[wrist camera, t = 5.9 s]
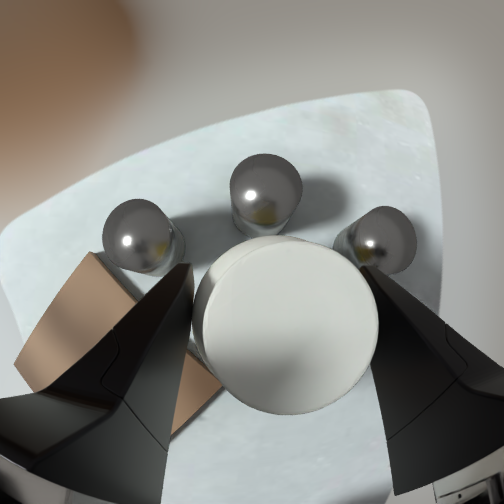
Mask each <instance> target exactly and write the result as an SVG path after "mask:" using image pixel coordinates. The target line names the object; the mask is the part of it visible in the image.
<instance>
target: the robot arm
mask: <svg viewBox="0 0 504 504" xmlns="http://www.w3.org/2000/svg"><path fill="white" fill-rule="evenodd" d="M359 271H360V273H361V274H362V275H363V277H364V278H365V280H366V281H367V283H368V285H369V287H370V289H371V291H372V293H373V296H374V299H375V303H376V306H377V312H378V321H379V326H378V338H377V344H376V348H375V351H374V354H373V357H372V360H371V362H370V366H371V370H372V374H373V378H374V382H375V387H376V391H377V396H378V400H379V405H380V410H381V415H382V420H383V425H384V430H385V435H386V440H387V448H388V454H389V460H390V467H391V474H392V481H393V489H394V495H395V496H397V495H400V494H403V493H406V492H409V491H412V490H415V489H417V488H420V487H423V486H425V485H428V484H430V483H432V484H433V489H434V495H435V500H436V503H437V504H504V368H503V367H501V366H499V365H498V364H497V363H496V362H494V361H493V360H492V359H491V358H489V357H488V356H487V355H485V354H484V353H483V352H481V351H480V350H479V349H477V348H476V347H475V346H474V345H472V344H471V343H470V342H468V341H467V340H466V339H465V338H463V337H462V336H461V335H460V334H458V333H457V332H456V331H455V330H454V329H453V328H451V327H450V326H449V325H448V324H445V322H444V321H443V320H442V319H441V318H439V317H438V316H437V315H436V314H435V313H433V312H432V311H431V310H430V309H429V308H427V307H426V306H425V305H424V304H422V303H421V302H420V301H419V300H418V299H416V298H415V297H414V296H413V295H411V294H410V293H409V292H407V291H406V290H405V289H404V288H402V287H401V286H400V285H399V284H397V283H396V282H395V281H393V280H392V279H391V278H390V277H388V276H387V275H386V274H384V273H383V272H382V271H380V270H379V269H378V268H376V267H375V266H374V265H362V266H361V267H360V269H359ZM193 299H194V276H193V267H192V264H191V263H187V262H179V263H177V264H176V265H175V266H174V267H173V268H172V269H171V270H170V271H169V272H168V273H167V274H166V275H165V276H164V277H163V278H162V279H161V280H160V281H159V282H158V283H157V284H156V285H155V286H154V287H152V288H151V289H150V290H149V291H148V292H147V293H146V294H145V295H144V296H143V297H142V298H141V299H140V300H139V301H138V302H137V303H136V304H135V305H134V306H133V307H132V308H131V309H130V310H129V311H128V312H127V313H126V314H125V315H124V316H123V317H122V318H121V319H120V320H119V321H118V322H117V323H116V324H115V325H114V326H113V329H110V330H109V331H108V333H107V334H106V335H105V336H104V337H103V338H102V339H101V340H100V341H99V342H98V343H97V344H96V345H95V346H93V347H92V348H91V349H90V350H89V351H88V352H87V353H86V354H85V355H84V356H82V357H81V358H80V359H79V360H78V361H77V362H76V363H74V364H73V365H72V366H71V367H70V368H69V369H67V370H66V371H65V372H64V373H63V374H62V375H61V376H59V377H58V378H57V379H56V380H55V381H54V382H52V383H51V384H50V385H49V386H47V387H46V388H44V389H42V390H40V391H38V392H35V393H31V394H25V395H20V396H14V397H8V398H1V399H0V504H161V497H162V489H163V482H164V475H165V468H166V462H167V455H168V453H167V452H168V449H169V442H170V436H171V430H172V425H173V419H174V413H175V408H176V402H177V397H178V391H179V386H180V381H181V376H182V371H183V366H184V361H185V356H186V351H187V346H188V341H189V336H190V331H191V321H192V309H193Z"/></svg>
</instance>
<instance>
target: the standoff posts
mask: <svg viewBox="0 0 504 504" xmlns="http://www.w3.org/2000/svg"><path fill="white" fill-rule="evenodd" d="M230 195H231V206H232V216H233V220H234V222H235V225H236V226H237V228H238V229H239V230H240V231H241V232H242V233H243V234H245V235H246V236H248V237H251V238H257V237H262V236H271V235H277V234H278V233H279V232H280V231H281V230H282V229H283V228H284V226H285V225H286V223H287V222H288V220H289V218H290V217H291V215H292V214H293V212H294V210H295V209H296V207H297V205H298V204H299V202H300V199H301V196H302V181H301V178H300V175H299V173H298V171H297V170H296V169H295V167H294V166H293V165H292V164H291V163H290V162H288V161H287V160H285V159H284V158H282V157H279V156H277V155H273V154H257V155H253V156H250V157H248V158H246V159H245V160H243V161H242V162H241V163H240V164H238V166H237V167H236V168H235V170H234V171H233V173H232V176H231V179H230ZM102 241H103V247H104V250H105V253H106V255H107V256H108V258H109V259H110V260H111V261H112V262H113V263H114V264H115V265H117V266H118V267H120V268H122V269H126V270H130V271H134V272H138V273H141V274H145V275H149V276H154V277H161V276H165V275H166V274H167V273H168V272H169V271H170V270H171V269H172V268H173V267H174V266H175V265H176V264H177V263H179V262H182V260H183V257H184V254H185V242H184V238H183V236H182V234H181V232H180V231H179V230H178V228H177V227H176V226H175V225H174V224H173V223H172V222H171V221H170V219H169V218H168V217H167V216H166V215H165V214H164V213H163V212H162V210H161V209H160V208H159V207H158V206H157V205H155V204H154V203H152V202H150V201H148V200H144V199H132V200H128V201H126V202H124V203H122V204H120V205H119V206H117V207H116V208H115V209H114V210H113V211H112V212H111V214H110V215H109V216H108V218H107V220H106V222H105V225H104V228H103V234H102ZM416 248H417V239H416V234H415V230H414V228H413V226H412V224H411V222H410V220H409V219H408V218H407V217H406V216H405V215H404V214H403V213H402V212H401V211H399V210H398V209H396V208H393V207H389V206H380V207H376V208H374V209H372V210H371V211H370V212H368V213H367V214H365V215H364V216H362V217H361V218H359V219H358V220H357V221H355V222H354V223H352V224H351V225H349V226H348V227H346V228H345V229H343V230H342V231H341V232H340V233H339V234H338V235H337V237H336V239H335V241H334V245H333V250H334V251H336V252H338V253H339V254H341V255H342V256H344V257H345V258H347V259H348V260H349V261H350V262H351V263H352V264H353V265H354V266H355V267H356V268H357V269H358V270H359V269H360V267H361V266H362V265H374V266H375V267H376V268H378V269H379V270H380V271H382V272H383V273H384V274H386V275H389V274H394V273H398V272H401V271H403V270H404V269H406V268H407V267H408V266H409V265H410V264H411V262H412V261H413V259H414V256H415V253H416Z"/></svg>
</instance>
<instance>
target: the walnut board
mask: <svg viewBox="0 0 504 504" xmlns="http://www.w3.org/2000/svg"><path fill="white" fill-rule="evenodd" d="M137 302H138V301H137V300H136V299H135V298H134V297H133V295H132V294H131V293H130V292H129V291H128V290H127V289H126V288H125V287H124V286H123V285H122V284H121V283H120V281H119V280H118V279H117V278H116V277H115V276H114V275H113V274H112V273H111V271H110V270H109V269H108V268H107V267H106V266H105V265H104V263H103V262H102V261H101V260H100V259H99V258H98V256H97V255H96V254H95V253H93V252H90V251H89V252H88V254H87V255H86V256H85V257H84V259H83V260H82V261H81V263H80V264H79V265H78V267H77V268H76V269H75V270H74V272H73V273H72V274H71V276H70V277H69V278H68V280H67V281H66V283H65V284H64V285H63V287H62V288H61V290H60V291H59V292H58V294H57V295H56V297H55V298H54V300H53V301H52V302H51V304H50V305H49V307H48V308H47V310H46V311H45V313H44V314H43V316H42V317H41V319H40V321H39V322H38V324H37V325H36V327H35V328H34V330H33V332H32V333H31V335H30V337H29V338H28V340H27V342H26V343H25V345H24V347H23V349H22V350H21V352H20V354H19V355H18V357H17V359H16V361H15V363H14V365H15V367H16V368H17V370H18V371H19V373H20V374H21V375H22V377H23V378H24V380H25V381H26V382H27V384H28V385H29V387H30V388H31V389H32V390H33V392H34V393H35V392H38V391H40V390H42V389H44V388H46V387H47V386H49V385H50V384H51V383H52V382H54V381H55V380H56V379H57V378H58V377H59V376H61V375H62V374H63V373H64V372H65V371H66V370H67V369H69V368H70V367H71V366H72V365H73V364H74V363H76V362H77V361H78V360H79V359H80V358H81V357H82V356H84V355H85V354H86V353H87V352H88V351H89V350H90V349H91V348H92V347H93V346H95V345H96V344H97V343H98V342H99V341H100V340H101V339H102V338H103V337H104V336H105V335H106V334H107V333H108V331H109V330H110V329H113V326H114V325H115V324H116V323H117V322H118V321H119V320H120V319H121V318H122V317H123V316H124V315H125V314H126V313H127V312H128V311H129V310H130V309H131V308H132V307H133V306H134V305H135V304H136V303H137ZM221 386H222V384H221V383H220V381H219V380H218V379H217V378H216V377H215V376H214V375H213V373H212V372H211V371H210V370H209V369H208V367H207V366H206V365H205V364H203V363H202V362H201V361H200V360H199V359H198V358H197V357H196V356H194V355H193V354H192V353H191V352H190V351H189V350H188V349H187V351H186V356H185V361H184V366H183V371H182V376H181V381H180V386H179V391H178V397H177V402H176V408H175V413H174V419H173V425H172V430H171V435H172V434H173V433H174V432H175V431H176V430H177V429H178V428H179V427H181V426H182V425H183V424H184V423H185V422H186V421H187V420H188V419H189V418H190V417H191V416H192V415H193V414H194V413H195V412H196V411H197V410H198V409H199V408H200V407H201V406H202V405H203V404H204V403H205V402H206V401H207V400H209V399H210V398H211V397H212V396H213V395H214V394H215V393H216V392H217V391H218V390H219V388H220V387H221Z"/></svg>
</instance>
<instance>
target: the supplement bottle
mask: <svg viewBox="0 0 504 504" xmlns="http://www.w3.org/2000/svg"><path fill="white" fill-rule="evenodd" d="M378 326H379V321H378V312H377V306H376V303H375V299H374V296H373V293H372V291H371V289H370V287H369V285H368V283H367V281H366V280H365V278H364V277H363V275H362V274H361V273H360V271H359V270H358V269H357V268H356V267H355V266H354V265H353V264H352V263H351V262H350V261H349V260H348V259H347V258H345V257H344V256H342V255H341V254H339V253H338V252H336V251H334V250H332V249H330V248H328V247H325V246H322V245H320V244H317V243H312V242H308V241H306V240H303V239H300V238H296V237H291V236H283V235H271V236H262V237H257V238H253V239H250V240H247V241H245V242H242V243H240V244H238V245H236V246H234V247H232V248H231V249H229V250H228V251H227V252H225V253H224V254H223V255H222V256H220V257H219V258H218V259H217V260H216V261H215V262H214V263H213V264H212V265H211V267H210V268H209V269H208V271H207V272H206V273H205V275H204V277H203V278H202V280H201V282H200V285H199V287H198V289H197V292H196V295H195V298H194V303H193V309H192V329H193V335H194V340H195V343H196V346H197V349H198V352H199V354H200V356H201V357H202V359H203V361H204V363H205V364H206V366H207V367H208V369H209V370H210V371H211V372H212V373H213V375H214V376H215V377H216V378H217V379H218V380H219V381H220V383H221V384H222V385H223V386H224V388H225V389H226V390H227V391H228V392H229V393H231V394H232V395H233V396H234V397H235V398H237V399H238V400H239V401H241V402H242V403H244V404H246V405H248V406H249V407H252V408H254V409H257V410H260V411H263V412H266V413H271V414H277V415H298V414H304V413H309V412H313V411H316V410H319V409H321V408H323V407H326V406H328V405H330V404H332V403H333V402H335V401H337V400H338V399H340V398H341V397H343V396H344V395H345V394H346V393H348V392H349V391H350V390H351V389H352V388H353V387H354V386H355V385H356V384H357V382H358V381H359V380H360V378H361V377H362V376H363V374H364V373H365V371H366V369H367V368H368V366H369V364H370V362H371V360H372V357H373V354H374V351H375V348H376V344H377V338H378Z"/></svg>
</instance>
